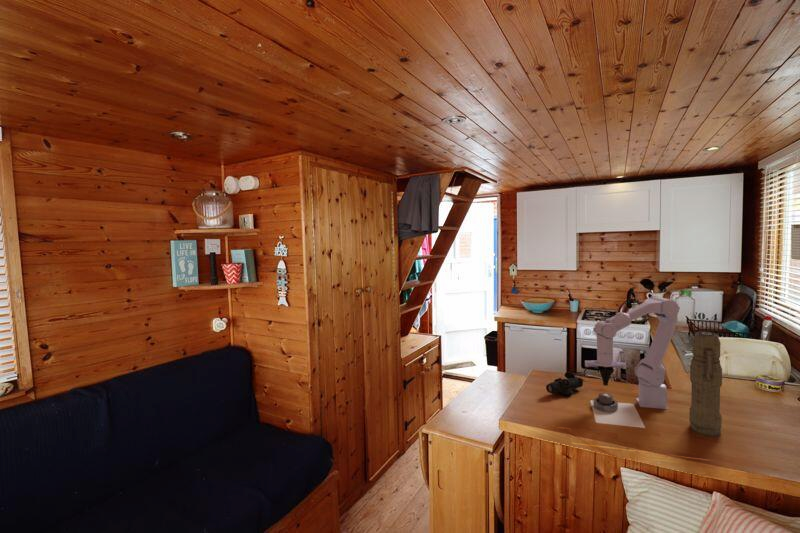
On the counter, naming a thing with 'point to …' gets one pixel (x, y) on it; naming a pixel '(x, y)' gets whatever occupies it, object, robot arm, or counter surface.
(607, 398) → the cap
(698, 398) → the brown tall rounded block
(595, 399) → the grey bowl
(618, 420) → the mat
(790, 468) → the counter surface
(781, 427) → the counter surface
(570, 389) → the night vision scope
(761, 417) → the counter surface
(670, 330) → the robot arm
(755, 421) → the counter surface
